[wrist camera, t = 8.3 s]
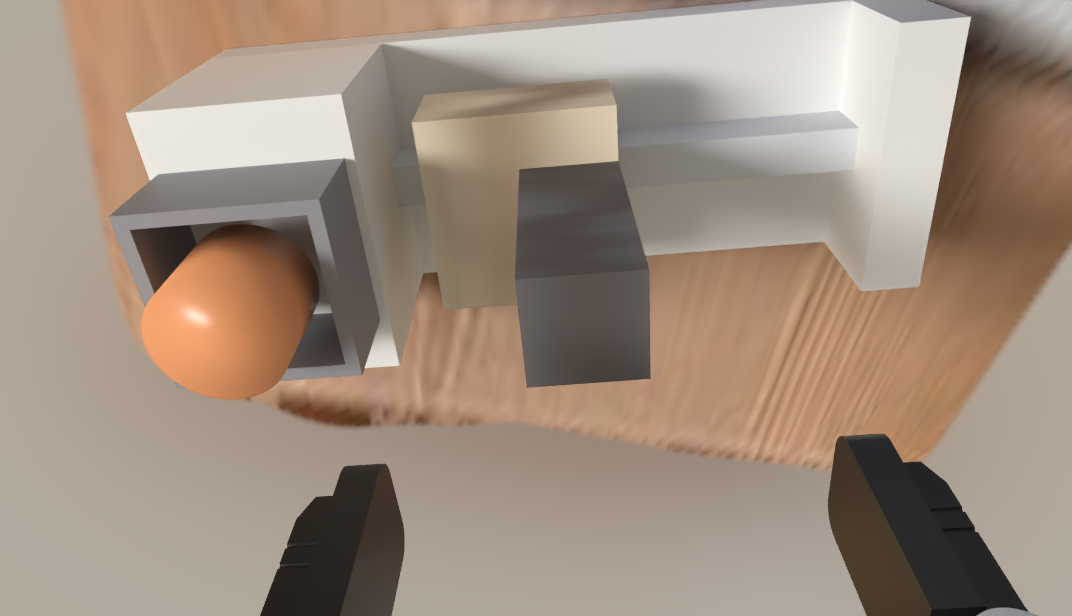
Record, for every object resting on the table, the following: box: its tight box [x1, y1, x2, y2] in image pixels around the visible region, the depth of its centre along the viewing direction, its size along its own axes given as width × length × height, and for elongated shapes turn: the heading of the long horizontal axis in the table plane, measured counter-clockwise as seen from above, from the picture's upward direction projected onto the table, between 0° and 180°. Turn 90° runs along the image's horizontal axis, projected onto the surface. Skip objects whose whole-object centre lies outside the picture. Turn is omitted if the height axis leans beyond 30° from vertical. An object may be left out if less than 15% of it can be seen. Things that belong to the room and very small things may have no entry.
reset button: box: [141, 224, 320, 400], centre depth 20 cm, size 4×4×3 cm
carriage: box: [412, 79, 650, 388], centre depth 23 cm, size 6×6×12 cm
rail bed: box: [109, 0, 971, 388], centre depth 25 cm, size 24×10×11 cm, turn 95°
